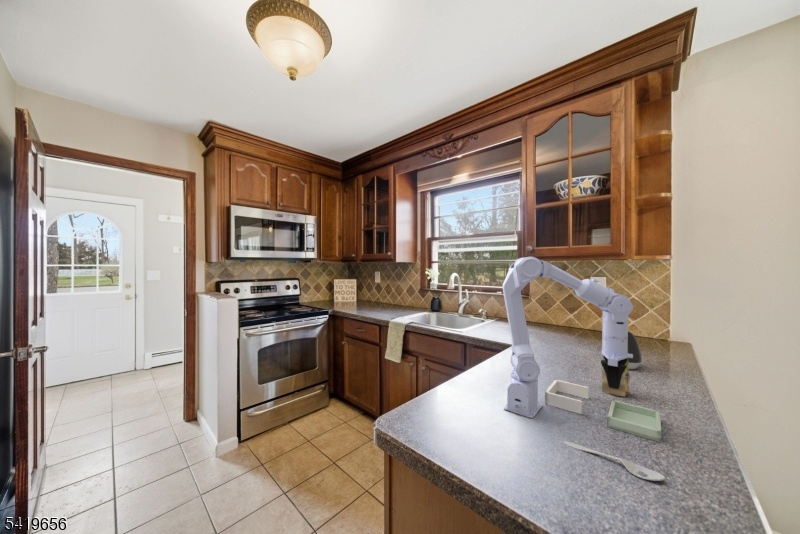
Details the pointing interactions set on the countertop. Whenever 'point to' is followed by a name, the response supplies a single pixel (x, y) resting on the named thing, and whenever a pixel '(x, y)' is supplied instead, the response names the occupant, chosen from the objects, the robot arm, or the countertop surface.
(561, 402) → the bay
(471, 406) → the countertop surface
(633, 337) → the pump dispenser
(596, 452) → the spoon
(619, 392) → the upright wooden block
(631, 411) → the tray
